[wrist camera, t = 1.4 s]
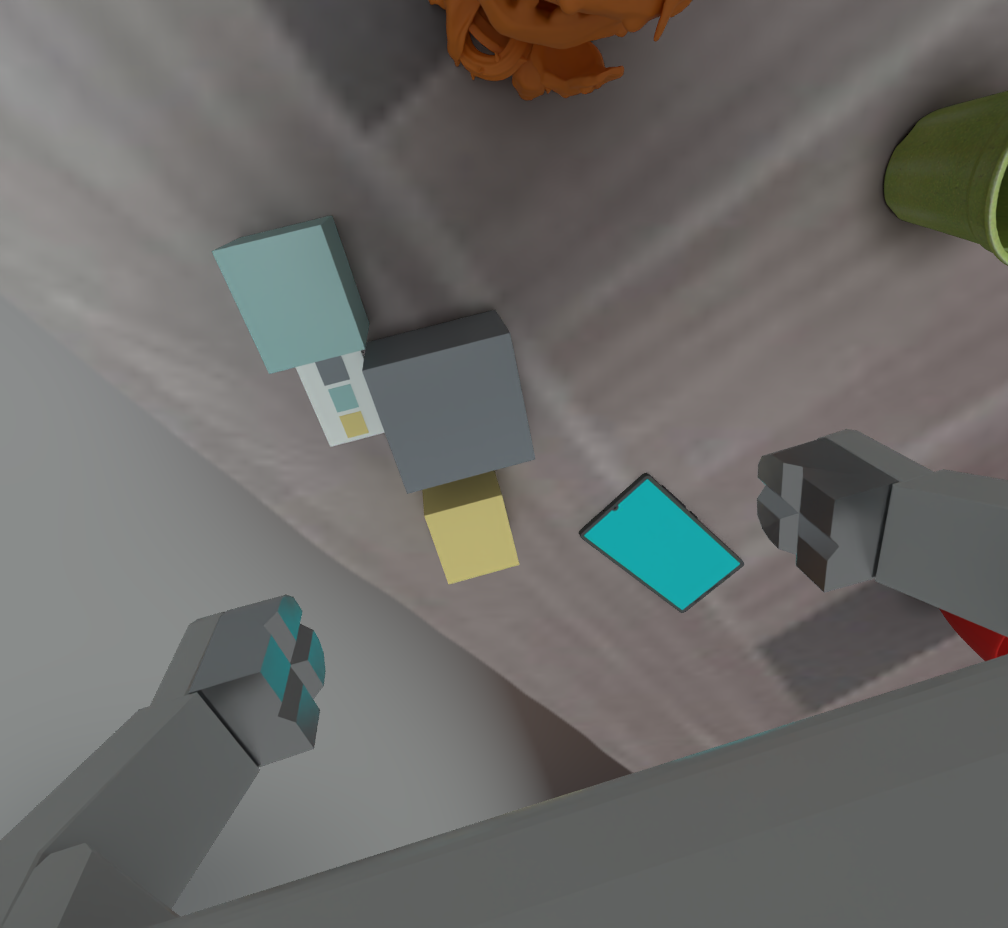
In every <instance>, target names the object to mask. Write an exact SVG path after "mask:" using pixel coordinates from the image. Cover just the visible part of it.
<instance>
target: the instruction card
mask: <svg viewBox="0 0 1008 928" xmlns="http://www.w3.org/2000/svg"><path fill="white" fill-rule="evenodd" d="M363 362H364V358H363V355H362V352H361V351H357V352H353V353H349V354H345V355H341V356H337V357H333V358H329V359H326V360H322V361H318V362H314V363H310V364H306V365H302V366H298V367H296V370H297V372H298V374H299V376H300V379H301V381H302V383H303V386H304V388H305V390H306V392H307V395H308V397H309V399H310V402H311V404H312V406H313V408H314V411H315V413H316V415H317V418H318V420H319V422H320V424H321V427H322V429H323V431H324V434H325V436H326V438H327V440H328V443H329V445H330V447H332V446H336V445H339V444H343V443H347V442H351V441H355V440H358V439H362V438H366V437H370V436H374V435H377V434H381V433H385V432H384V429H383V426H382V424H381V421H380V418H379V416H378V413H377V410H376V407H375V405H374V402H373V399H372V397H371V394H370V391H369V388H368V386H367V383H366V380H365V378H364V375H363V372H362V368H363Z"/></svg>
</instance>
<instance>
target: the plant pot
mask: <svg viewBox="0 0 1008 928" xmlns="http://www.w3.org/2000/svg"><path fill="white" fill-rule="evenodd" d="M884 196H885V200H886V203H887V205H888V206H889V207H890V208H891V209H892V211H893V212H894V213H895V214H896V216H897V217H898V218H899V219H901V220H903V221H906V222H910V223H913V224H916V225H920V226H923V227H927V228H930V229H933V230H937V231H940V232H943V233H947V234H950V235H953V236H956V237H959V238H962V239H966V240H969V241H972V242H975V243H978V244H980V245H981V246H982V247H983V248H985V249H986V250H988V251H990V252H992V253H994V255H995V256H996V257H997V258H998V259H999V260H1000V261H1001V262H1003V263H1004V264H1005V265H1007V266H1008V91H1005V92H1001V93H997V94H994V95H990V96H986V97H983V98H979V99H975V100H971V101H967V102H963V103H959V104H956V105H952V106H949V107H945V108H942V109H938V110H936V111H934V112H932V113H930V114H928V115H926V116H925V117H923V118H922V119H920V120H919V121H918V122H917V123H916V125H915V127H914V128H913V129H912V131H911V132H910V133H909V134H908V135H907V136H906V138H905V139H904V140H903V141H902V142H901V143H900V144H899V145H898V146H897V147H896V149H895V150H894V152H893V154H892V156H891V159H890V161H889V164H888V167H887V170H886V175H885V181H884Z"/></svg>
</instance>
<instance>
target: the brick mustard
mask: <svg viewBox="0 0 1008 928" xmlns="http://www.w3.org/2000/svg"><path fill="white" fill-rule="evenodd" d="M423 504H424V516H425V519H426V522H427V525H428V527H429V530H430V533H431V536H432V539H433V541H434V544H435V547H436V550H437V553H438V555H439V558H440V561H441V564H442V567H443V570H444V572H445V575H446V578H447V581H448V584H452V583H456V582H459V581H463V580H466V579H470V578H474V577H477V576H481V575H484V574H488V573H492V572H495V571H499V570H502V569H506V568H510V567H513V566H517V565H519V561H518V557H517V553H516V549H515V545H514V541H513V537H512V533H511V529H510V526H509V522H508V518H507V514H506V510H505V506H504V502H503V498H502V494H501V491H500V487H499V484H498V481H497V478H496V475H495V471H490V472H486V473H483V474H479V475H475V476H471V477H468V478H464V479H460V480H457V481H453V482H449V483H445V484H442V485H438V486H434V487H431V488H427V489H423Z"/></svg>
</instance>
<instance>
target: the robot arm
mask: <svg viewBox="0 0 1008 928" xmlns="http://www.w3.org/2000/svg"><path fill="white" fill-rule="evenodd" d="M758 478H759V479H760V480H761V481H762V482H763V483H764V484H765V485H766V486H765V487H764V489H763V490H762V492H761V493H760V495H759V496H758V498H757V515H758V518H759V521H760V524H761V526H762V529H763V531H764V532H765V534H766V535H767V537H768V538H769V540H770V541H771V542H772V543H773V544H774V545H775V546H776V547H777V548H778V549H780V550H783V551H786V552H789V553H792V554H795V555H796V566H797V567H798V568H799V569H800V570H801V571H802V572H803V573H804V574H805V575H806V576H807V577H808V578H809V579H810V580H811V581H812V582H814V583H815V584H816V585H817V586H818V587H819V588H820V589H821V590H822V591H823V592H828V591H831V590H835V589H839V588H842V587H846V586H850V585H853V584H857V583H860V582H864V581H868V580H871V579H875V578H876V579H875V581H876V582H879V583H881V584H883V585H886V586H888V587H890V588H893V589H895V590H897V591H900V592H902V593H905V594H907V595H909V596H912V597H914V598H916V599H919V600H921V601H923V602H926V603H928V604H931V605H933V606H935V607H938V608H940V609H942V610H945V611H947V612H949V613H952V614H954V615H957V616H959V617H961V618H964V619H966V620H968V621H971V622H973V623H975V624H978V625H980V626H983V627H985V628H987V629H990V630H992V631H994V632H997V633H999V634H1001V635H1004V636H1006V637H1008V480H1003V479H998V478H992V477H986V476H980V475H974V474H968V473H962V472H956V471H950V470H944V469H943V470H939V471H936V472H933V471H931V470H929V469H928V468H926V467H924V466H922V465H920V464H918V463H916V462H915V461H913V460H911V459H909V458H907V457H905V456H903V455H902V454H900V453H898V452H896V451H894V450H892V449H890V448H889V447H887V446H885V445H883V444H881V443H879V442H877V441H876V440H874V439H872V438H870V437H868V436H866V435H864V434H862V433H861V432H859V431H857V430H849V429H845V430H842V431H839V432H836V433H833V434H830V435H826V436H823V437H820V438H818V439H817V440H814V441H811V442H807V443H804V444H801V445H797V446H794V447H790V448H787V449H784V450H780V451H777V452H774V453H770V454H767V455H764V456H762V457H761V459H760V462H759V464H758ZM301 616H302V610H301V608H300V607H299V605H298V603H297V602H296V601H295V599H294V597H291V596H289V595H283V596H279V597H276V598H272V599H268V600H264V601H261V602H257V603H253V604H250V605H246V606H242V607H238V608H235V609H231V610H228V611H226V612H221V613H217V614H214V615H210V616H207V617H203V618H200V619H197V620H196V621H194V622H193V623H191V624H190V625H189V626H188V628H187V630H186V632H185V634H184V636H183V638H182V640H181V642H180V644H179V647H178V649H177V651H176V653H175V655H174V657H173V660H172V661H171V663H170V665H169V667H168V670H167V671H166V674H165V676H164V678H163V680H162V682H161V684H160V686H159V688H158V690H157V692H156V694H155V696H154V699H153V701H152V703H151V705H150V706H149V707H145V708H142V709H139V710H138V711H137V712H136V713H135V714H134V715H133V716H132V717H131V718H130V719H129V720H128V721H126V722H125V723H124V724H123V725H122V726H121V727H120V728H119V729H118V730H117V731H116V732H115V733H114V734H113V735H112V736H111V737H109V738H108V739H107V740H106V741H105V742H104V743H103V744H102V745H101V746H100V747H99V748H98V749H97V750H96V751H95V752H94V753H92V754H91V755H90V756H89V757H88V758H87V759H86V760H85V761H84V762H83V763H82V764H81V765H80V766H79V767H78V768H77V769H76V770H74V771H73V772H72V773H71V774H70V775H69V776H68V777H67V778H66V779H65V780H64V781H63V782H62V783H61V784H60V785H59V786H57V787H56V788H55V789H54V790H53V791H52V792H51V793H50V794H49V795H48V796H47V797H46V798H45V799H44V800H43V801H42V802H40V804H38V805H37V806H36V807H35V808H34V809H33V810H32V811H31V812H30V813H29V814H28V815H27V816H26V817H25V818H24V819H23V820H21V822H20V823H18V824H17V825H16V826H15V827H14V828H13V829H12V830H11V831H10V832H9V833H8V834H7V835H6V836H4V837H3V838H2V839H1V840H0V928H1008V654H1007V655H1004V656H1000V657H997V658H994V659H991V660H988V661H985V662H981V663H978V664H975V665H972V666H969V667H966V668H963V669H959V670H956V671H953V672H950V673H947V674H944V675H940V676H937V677H934V678H931V679H928V680H925V681H922V682H918V683H915V684H912V685H909V686H906V687H903V688H900V689H896V690H893V691H890V692H887V693H884V694H881V695H878V696H875V697H871V698H868V699H865V700H862V701H859V702H856V703H853V704H849V705H846V706H843V707H840V708H837V709H834V710H831V711H827V712H824V713H821V714H818V715H815V716H812V717H809V718H806V719H802V720H799V721H796V722H793V723H790V724H787V725H784V726H780V727H777V728H774V729H771V730H768V731H765V732H762V733H758V734H755V735H752V736H749V737H746V738H743V739H740V740H737V741H733V742H730V743H727V744H724V745H721V746H718V747H715V748H711V749H708V750H705V751H702V752H699V753H696V754H693V755H689V756H686V757H683V758H680V759H677V760H674V761H671V762H667V763H664V764H661V765H658V766H655V767H652V768H648V769H645V770H642V771H639V772H636V773H633V774H629V775H626V776H623V777H620V778H617V779H614V780H610V781H608V782H604V783H601V784H598V785H595V786H591V787H588V788H585V789H582V790H579V791H576V792H573V793H570V794H566V795H563V796H560V797H557V798H554V799H550V800H548V801H544V802H541V803H538V804H535V805H532V806H529V807H525V808H522V809H519V810H516V811H512V812H509V813H506V814H503V815H500V816H497V817H494V818H490V819H487V820H484V821H481V822H478V823H474V824H472V825H468V826H465V827H462V828H459V829H456V830H453V831H450V832H446V833H443V834H440V835H437V836H434V837H430V838H427V839H424V840H421V841H418V842H415V843H411V844H408V845H405V846H402V847H399V848H396V849H393V850H390V851H386V852H383V853H380V854H377V855H374V856H370V857H367V858H364V859H361V860H358V861H355V862H352V863H348V864H345V865H342V866H340V867H336V868H333V869H329V870H327V871H323V872H320V873H317V874H314V875H311V876H308V877H305V878H301V879H298V880H295V881H292V882H288V883H286V884H282V885H279V886H276V887H273V888H270V889H267V890H263V891H260V892H257V893H254V894H251V895H248V896H245V897H241V898H238V899H235V900H232V901H229V902H225V903H222V904H219V905H216V906H213V907H210V908H207V909H203V910H200V911H197V912H194V913H191V914H188V915H184V916H182V917H181V916H179V915H178V914H177V913H175V912H174V911H172V907H173V906H174V904H175V903H176V901H177V899H178V898H179V896H180V895H181V893H182V892H183V890H184V889H185V887H186V885H187V884H188V882H189V881H190V879H191V878H192V876H193V874H194V873H195V871H196V870H197V868H198V867H199V865H200V863H201V862H202V860H203V859H204V857H205V856H206V854H207V853H208V851H209V849H210V848H211V846H212V845H213V843H214V841H215V840H216V838H217V837H218V835H219V834H220V832H221V831H222V829H223V828H224V826H225V824H226V823H227V821H228V820H229V818H230V816H231V815H232V813H233V812H234V810H235V809H236V807H237V806H238V804H239V802H240V801H241V799H242V798H243V796H244V794H245V793H246V791H247V790H248V788H249V787H250V785H251V784H252V782H253V780H254V779H255V777H256V776H257V774H258V773H259V771H260V769H259V768H258V767H261V766H264V765H267V764H270V763H273V762H276V761H279V760H282V759H285V758H288V757H291V756H294V755H297V754H300V753H303V752H306V751H309V750H312V749H314V745H315V739H316V732H317V725H318V720H319V713H320V709H319V708H318V706H317V705H316V703H315V702H314V700H313V699H314V698H315V697H316V695H317V694H318V693H319V691H320V690H321V689H322V687H323V686H324V678H325V662H324V653H323V650H322V647H321V644H320V641H319V639H318V637H317V635H316V634H315V632H314V630H312V629H310V628H308V627H306V626H304V625H302V624H300V620H301Z"/></svg>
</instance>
